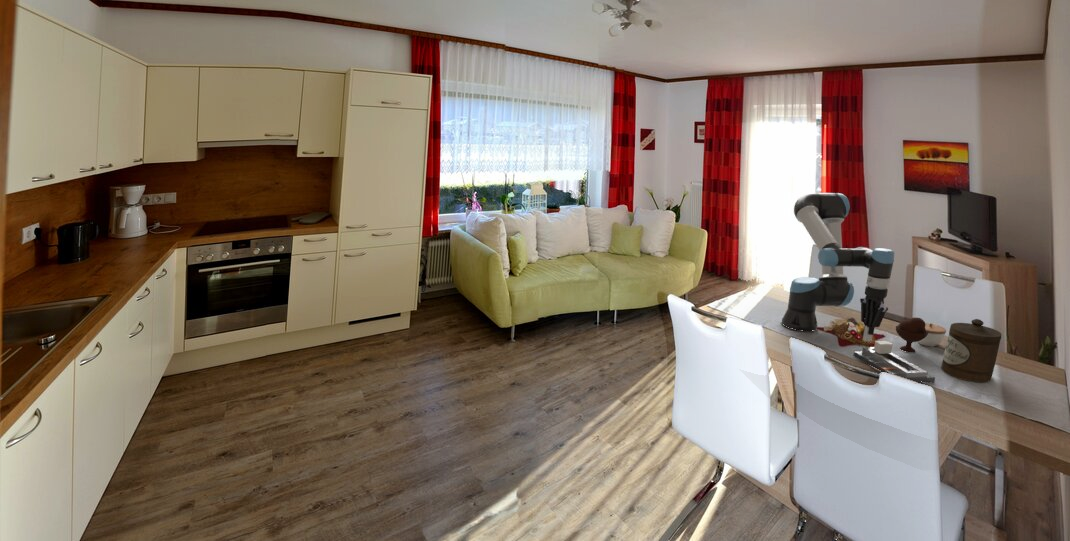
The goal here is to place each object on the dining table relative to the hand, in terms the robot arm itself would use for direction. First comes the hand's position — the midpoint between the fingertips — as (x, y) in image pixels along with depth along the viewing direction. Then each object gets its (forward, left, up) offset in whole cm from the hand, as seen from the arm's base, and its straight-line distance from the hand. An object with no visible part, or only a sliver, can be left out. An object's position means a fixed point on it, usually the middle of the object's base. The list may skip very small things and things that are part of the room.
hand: (866, 340), depth 207 cm
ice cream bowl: (-1, +20, -6) cm, 21 cm away
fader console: (+15, 0, -5) cm, 16 cm away
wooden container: (+21, +25, -6) cm, 33 cm away
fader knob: (+9, 0, -3) cm, 10 cm away
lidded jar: (-7, +34, -6) cm, 35 cm away
